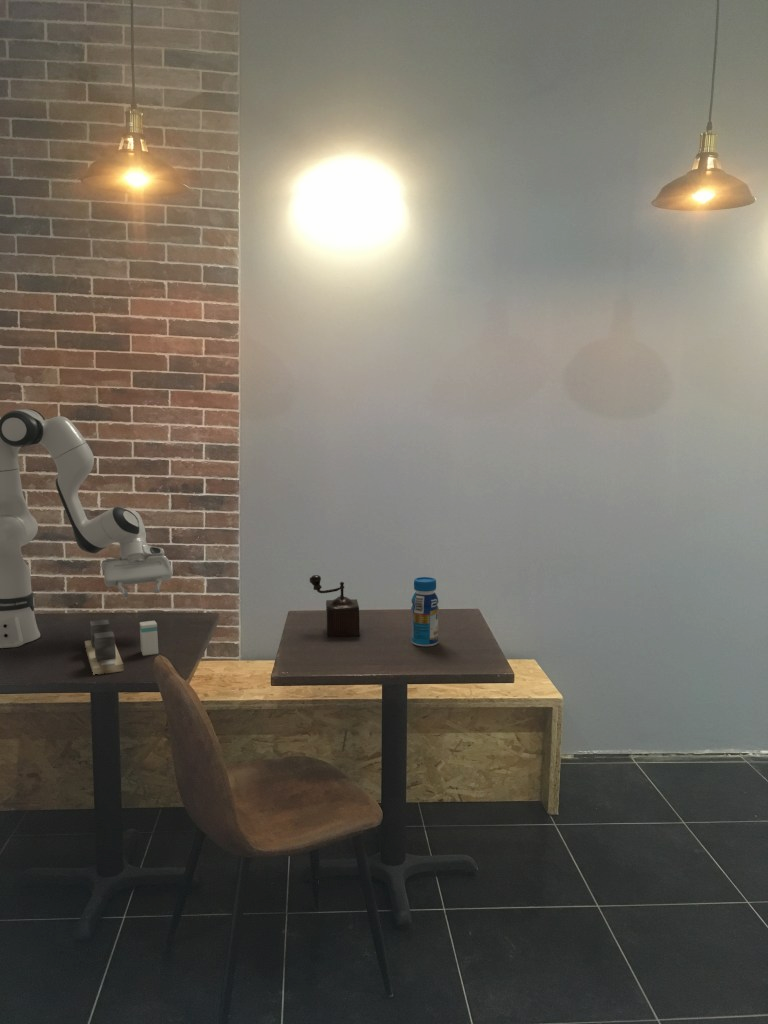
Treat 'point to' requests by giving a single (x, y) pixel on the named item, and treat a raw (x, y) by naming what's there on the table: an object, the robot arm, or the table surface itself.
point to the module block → (149, 638)
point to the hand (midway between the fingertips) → (141, 594)
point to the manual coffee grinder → (339, 612)
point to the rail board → (97, 665)
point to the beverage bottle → (424, 612)
